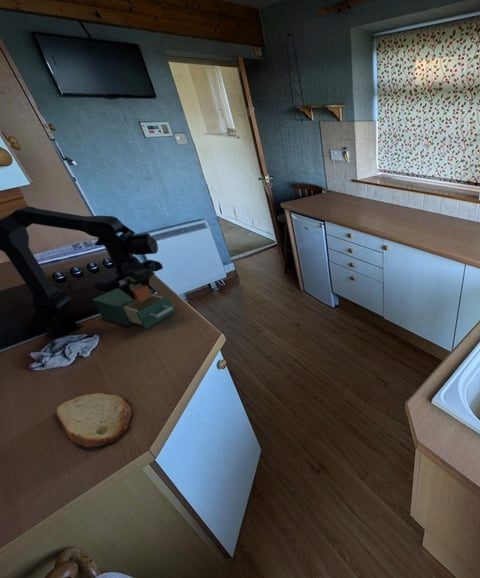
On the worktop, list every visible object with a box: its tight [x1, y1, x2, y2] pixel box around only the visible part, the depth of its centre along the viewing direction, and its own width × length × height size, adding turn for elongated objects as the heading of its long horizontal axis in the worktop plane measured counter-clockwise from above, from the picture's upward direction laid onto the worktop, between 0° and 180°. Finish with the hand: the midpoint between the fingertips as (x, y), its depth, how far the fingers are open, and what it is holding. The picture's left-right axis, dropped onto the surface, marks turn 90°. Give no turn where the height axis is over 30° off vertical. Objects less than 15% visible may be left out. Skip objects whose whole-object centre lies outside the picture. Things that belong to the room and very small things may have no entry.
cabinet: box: [91, 283, 156, 327], centre depth 111 cm, size 14×13×9 cm
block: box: [130, 283, 152, 302], centre depth 104 cm, size 4×4×4 cm
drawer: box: [122, 294, 176, 329], centre depth 108 cm, size 17×11×7 cm
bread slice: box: [56, 392, 132, 448], centre depth 72 cm, size 18×18×4 cm
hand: (140, 295), depth 104 cm, fingers closed on block, 4 cm apart
